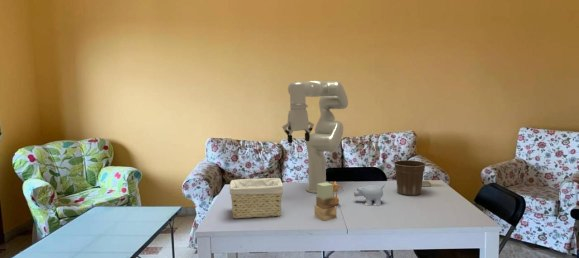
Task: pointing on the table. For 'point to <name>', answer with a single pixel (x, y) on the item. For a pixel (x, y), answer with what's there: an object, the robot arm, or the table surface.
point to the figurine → (336, 192)
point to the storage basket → (256, 197)
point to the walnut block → (325, 203)
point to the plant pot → (409, 176)
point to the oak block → (325, 213)
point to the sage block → (325, 190)
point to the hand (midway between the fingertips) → (298, 141)
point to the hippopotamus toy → (370, 194)
